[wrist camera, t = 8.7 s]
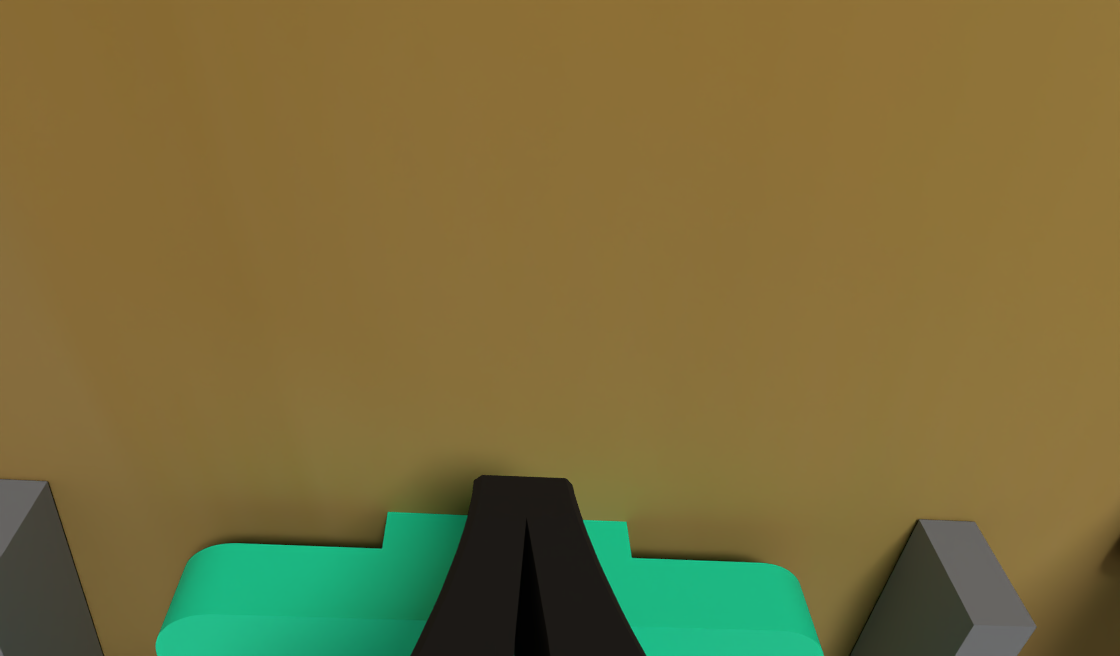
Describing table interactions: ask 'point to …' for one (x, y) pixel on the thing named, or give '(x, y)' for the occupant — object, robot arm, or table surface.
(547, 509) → the robot arm
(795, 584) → the camera mount
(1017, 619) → the dock
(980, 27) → the table surface
